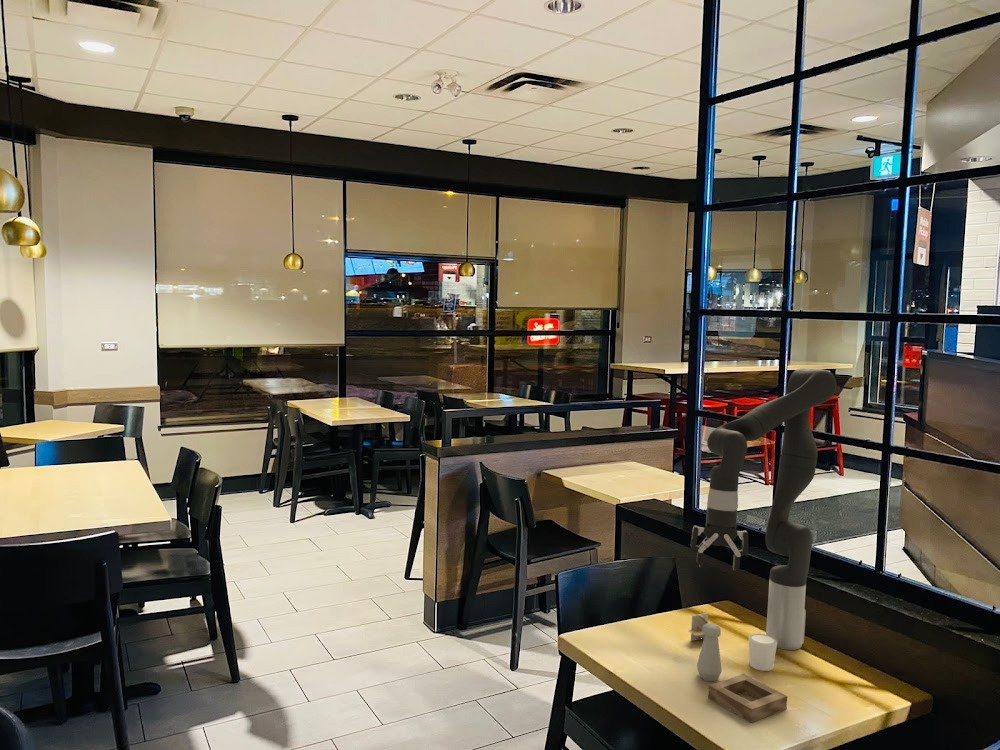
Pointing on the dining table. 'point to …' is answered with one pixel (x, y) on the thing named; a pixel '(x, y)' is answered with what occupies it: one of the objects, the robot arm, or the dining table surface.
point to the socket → (751, 711)
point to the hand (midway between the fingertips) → (717, 568)
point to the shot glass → (762, 651)
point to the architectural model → (698, 626)
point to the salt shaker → (710, 653)
